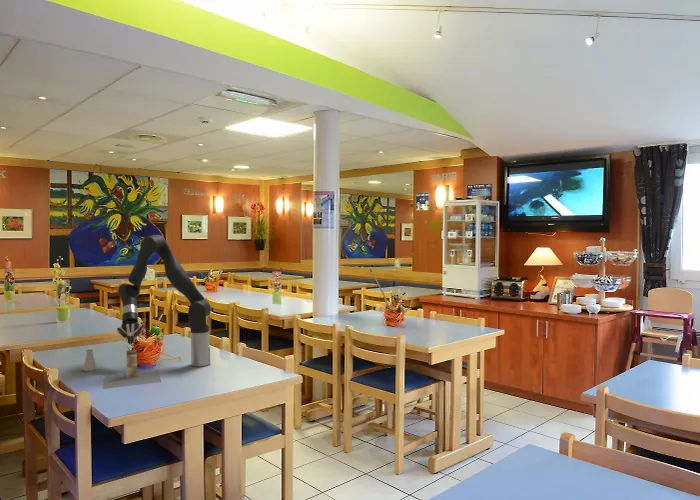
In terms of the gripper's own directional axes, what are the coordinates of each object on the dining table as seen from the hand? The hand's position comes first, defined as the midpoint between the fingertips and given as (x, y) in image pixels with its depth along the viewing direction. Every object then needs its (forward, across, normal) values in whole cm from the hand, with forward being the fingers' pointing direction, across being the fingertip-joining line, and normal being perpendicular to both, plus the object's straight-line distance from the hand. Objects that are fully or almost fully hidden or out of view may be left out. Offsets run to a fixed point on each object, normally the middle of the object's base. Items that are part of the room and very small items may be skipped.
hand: (130, 343), depth 256 cm
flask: (+3, -19, +17) cm, 26 cm away
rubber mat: (+22, 0, -3) cm, 22 cm away
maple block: (+18, 0, 0) cm, 18 cm away
